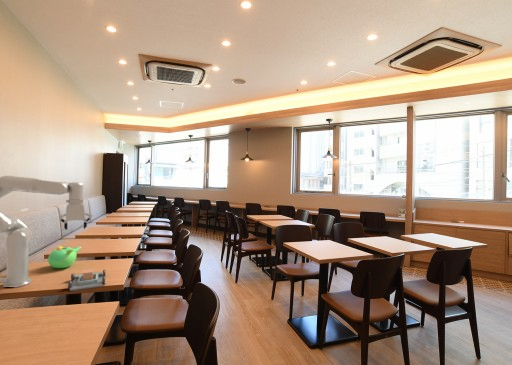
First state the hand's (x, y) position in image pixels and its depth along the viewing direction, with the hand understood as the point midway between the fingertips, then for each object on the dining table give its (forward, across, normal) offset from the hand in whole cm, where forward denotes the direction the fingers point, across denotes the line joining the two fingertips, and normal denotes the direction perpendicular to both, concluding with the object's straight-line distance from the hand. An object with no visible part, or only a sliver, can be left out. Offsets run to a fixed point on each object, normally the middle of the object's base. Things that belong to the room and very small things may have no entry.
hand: (75, 229), depth 172 cm
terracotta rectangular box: (+29, +8, -14) cm, 33 cm away
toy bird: (+31, -9, +25) cm, 40 cm away
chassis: (+30, +8, -14) cm, 34 cm away
